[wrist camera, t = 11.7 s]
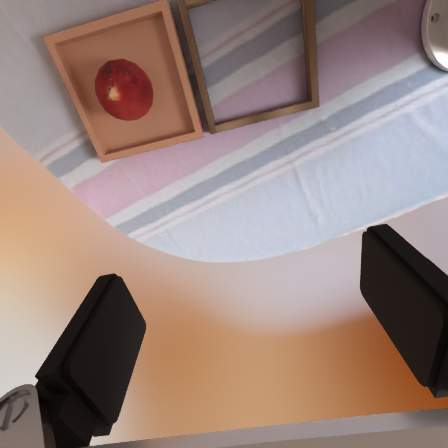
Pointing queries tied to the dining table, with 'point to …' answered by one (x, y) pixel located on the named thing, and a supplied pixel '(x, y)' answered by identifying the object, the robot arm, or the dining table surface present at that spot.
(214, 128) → the walnut frame
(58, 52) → the terracotta tray
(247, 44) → the dining table surface
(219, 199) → the dining table surface
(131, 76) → the onion
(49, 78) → the dining table surface
